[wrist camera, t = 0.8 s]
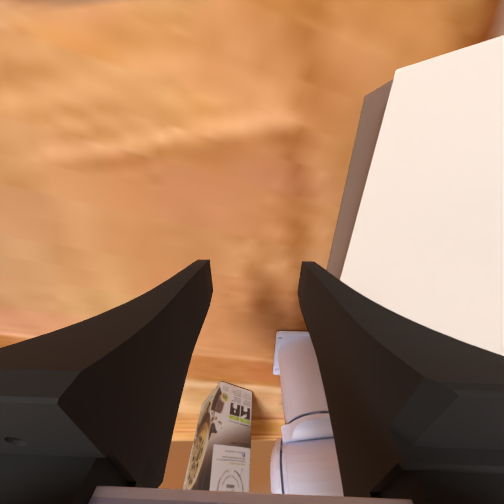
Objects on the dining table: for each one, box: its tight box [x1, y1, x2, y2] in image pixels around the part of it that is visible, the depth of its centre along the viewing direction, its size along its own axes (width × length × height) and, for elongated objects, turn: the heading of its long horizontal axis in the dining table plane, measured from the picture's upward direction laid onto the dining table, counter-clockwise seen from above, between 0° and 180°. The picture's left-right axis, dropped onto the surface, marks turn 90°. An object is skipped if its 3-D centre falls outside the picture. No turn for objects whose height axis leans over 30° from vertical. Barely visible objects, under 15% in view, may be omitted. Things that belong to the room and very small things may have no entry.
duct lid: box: [340, 35, 504, 356], centre depth 11 cm, size 20×10×1 cm
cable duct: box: [327, 79, 394, 280], centre depth 16 cm, size 20×10×4 cm, turn 0°
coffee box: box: [183, 382, 252, 492], centre depth 26 cm, size 9×6×16 cm
